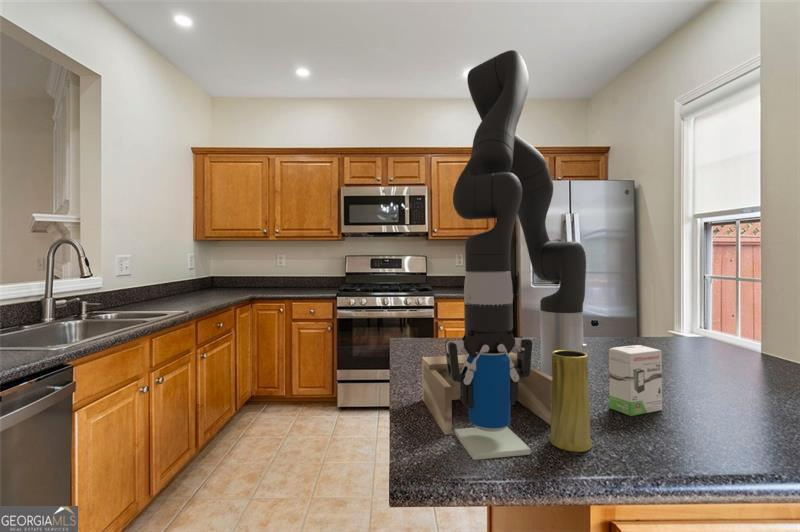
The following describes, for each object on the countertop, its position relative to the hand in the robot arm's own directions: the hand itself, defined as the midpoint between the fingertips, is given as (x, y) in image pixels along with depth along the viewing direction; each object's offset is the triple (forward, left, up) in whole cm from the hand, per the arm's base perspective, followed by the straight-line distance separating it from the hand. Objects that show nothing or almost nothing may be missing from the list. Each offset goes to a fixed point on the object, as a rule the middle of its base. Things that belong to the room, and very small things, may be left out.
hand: (489, 404), depth 63 cm
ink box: (-33, -8, -6) cm, 35 cm away
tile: (0, 0, -6) cm, 6 cm away
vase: (-12, +2, -6) cm, 14 cm away
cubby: (-4, -12, -6) cm, 14 cm away
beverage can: (0, 0, -3) cm, 3 cm away
